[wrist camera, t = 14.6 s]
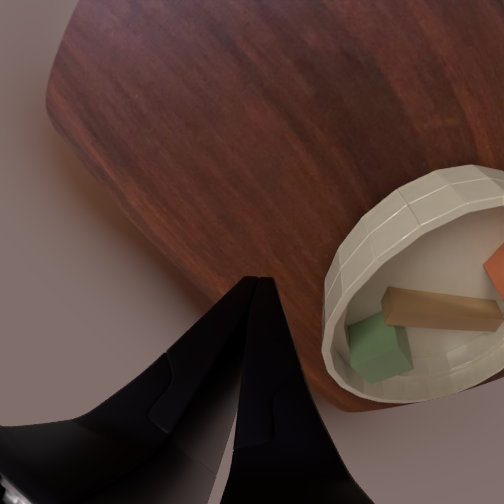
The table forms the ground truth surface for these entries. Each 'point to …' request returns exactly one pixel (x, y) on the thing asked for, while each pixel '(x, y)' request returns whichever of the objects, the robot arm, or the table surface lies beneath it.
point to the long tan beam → (439, 311)
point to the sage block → (379, 349)
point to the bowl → (420, 281)
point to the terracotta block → (496, 270)
